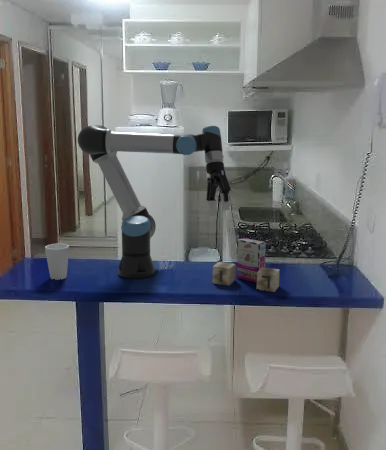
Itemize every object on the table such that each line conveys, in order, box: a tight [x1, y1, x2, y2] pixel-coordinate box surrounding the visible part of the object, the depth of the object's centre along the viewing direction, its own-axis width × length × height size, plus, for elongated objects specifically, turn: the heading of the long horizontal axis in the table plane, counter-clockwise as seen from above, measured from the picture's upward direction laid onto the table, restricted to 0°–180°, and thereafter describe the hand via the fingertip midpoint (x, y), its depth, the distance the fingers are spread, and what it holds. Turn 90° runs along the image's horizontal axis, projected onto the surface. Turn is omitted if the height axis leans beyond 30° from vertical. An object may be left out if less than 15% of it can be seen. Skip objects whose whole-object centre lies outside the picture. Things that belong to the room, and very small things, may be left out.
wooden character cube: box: [212, 261, 236, 286], centre depth 195 cm, size 7×7×7 cm
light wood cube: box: [256, 267, 280, 293], centre depth 188 cm, size 7×7×7 cm
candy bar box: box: [235, 237, 267, 284], centre depth 197 cm, size 11×5×16 cm, turn 47°
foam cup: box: [44, 243, 70, 281], centre depth 197 cm, size 10×9×13 cm
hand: (219, 213), depth 201 cm, fingers open, 13 cm apart
